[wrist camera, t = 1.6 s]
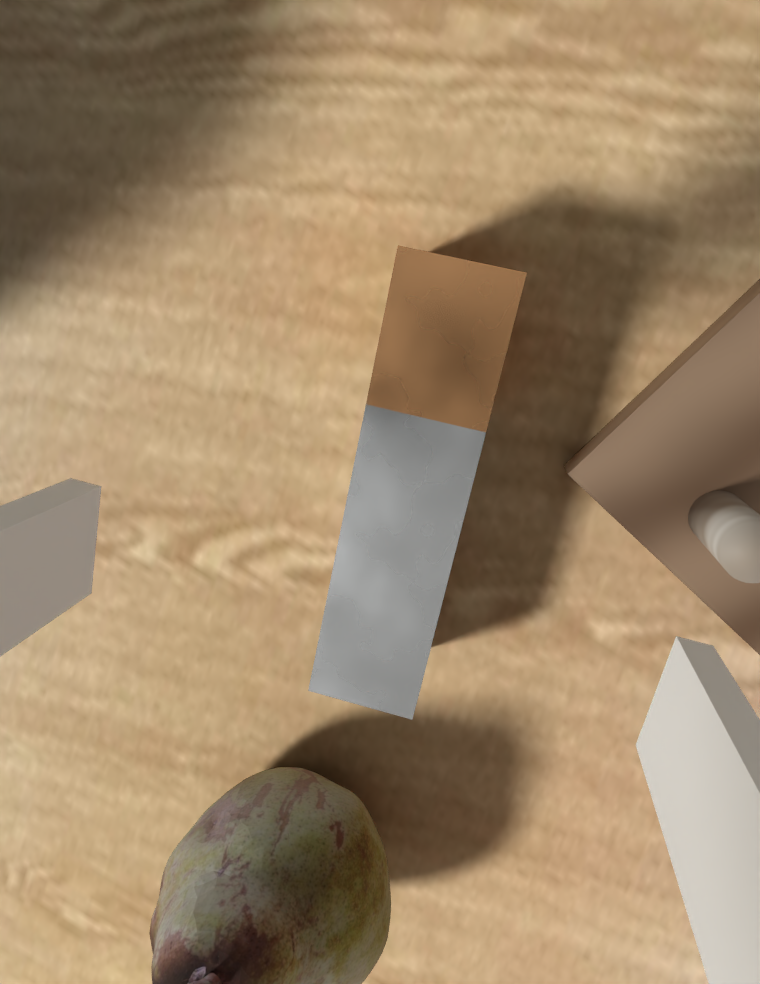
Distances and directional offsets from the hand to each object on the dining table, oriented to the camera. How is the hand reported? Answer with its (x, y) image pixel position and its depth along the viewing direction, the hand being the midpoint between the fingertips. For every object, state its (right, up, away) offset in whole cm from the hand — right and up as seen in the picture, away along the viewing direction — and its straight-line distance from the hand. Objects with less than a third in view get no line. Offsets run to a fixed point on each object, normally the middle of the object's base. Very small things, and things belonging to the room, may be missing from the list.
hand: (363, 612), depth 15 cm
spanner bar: (+2, +4, +13) cm, 14 cm away
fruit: (-3, -13, +19) cm, 23 cm away
